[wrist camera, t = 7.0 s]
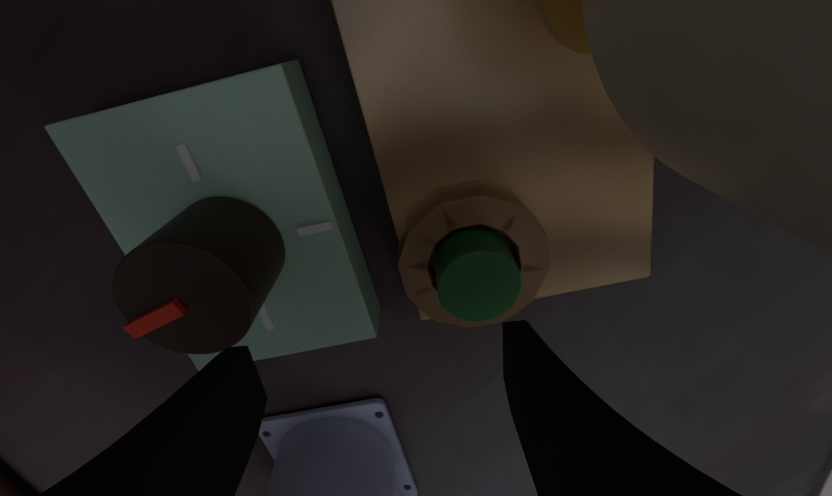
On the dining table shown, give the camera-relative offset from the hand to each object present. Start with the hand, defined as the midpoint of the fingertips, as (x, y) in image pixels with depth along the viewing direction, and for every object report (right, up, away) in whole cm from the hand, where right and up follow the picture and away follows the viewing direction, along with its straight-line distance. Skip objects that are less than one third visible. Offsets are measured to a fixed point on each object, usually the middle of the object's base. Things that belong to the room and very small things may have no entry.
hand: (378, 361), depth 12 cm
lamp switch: (+3, +3, +6) cm, 7 cm away
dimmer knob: (-6, +3, +5) cm, 9 cm away
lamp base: (+5, +8, +6) cm, 11 cm away
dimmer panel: (-6, +4, +7) cm, 11 cm away
